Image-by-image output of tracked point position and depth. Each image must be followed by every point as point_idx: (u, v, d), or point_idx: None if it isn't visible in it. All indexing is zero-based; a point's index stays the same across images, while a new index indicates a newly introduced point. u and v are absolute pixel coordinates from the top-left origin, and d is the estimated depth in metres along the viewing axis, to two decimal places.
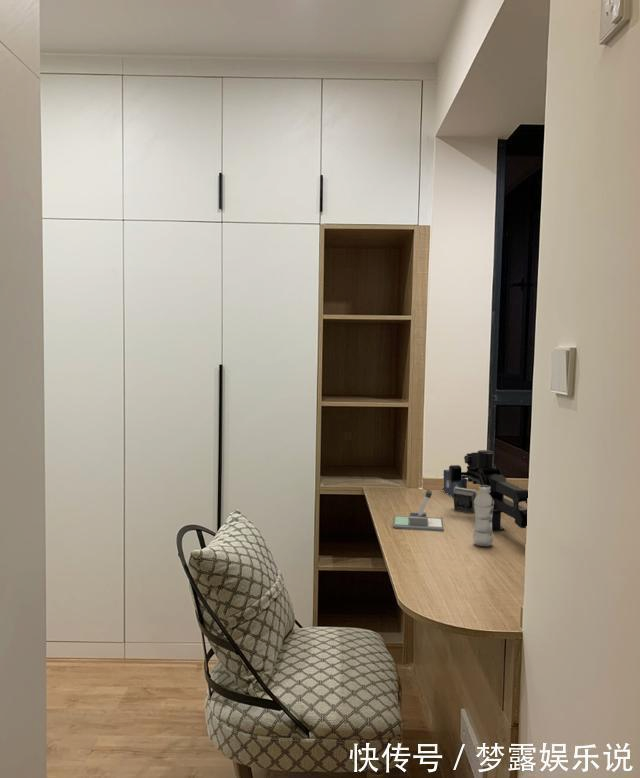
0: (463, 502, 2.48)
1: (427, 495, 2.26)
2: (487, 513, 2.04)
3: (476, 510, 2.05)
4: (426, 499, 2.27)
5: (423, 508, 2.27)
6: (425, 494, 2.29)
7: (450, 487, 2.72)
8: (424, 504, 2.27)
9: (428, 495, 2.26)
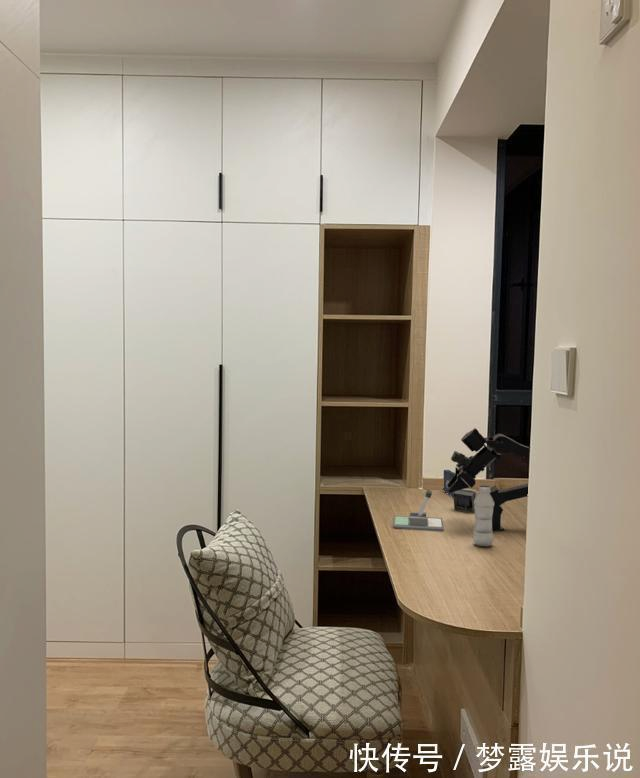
0: (463, 502, 2.48)
1: (427, 495, 2.26)
2: (487, 513, 2.04)
3: (476, 510, 2.05)
4: (426, 499, 2.27)
5: (423, 508, 2.27)
6: (425, 494, 2.29)
7: None
8: (424, 504, 2.27)
9: (428, 495, 2.26)
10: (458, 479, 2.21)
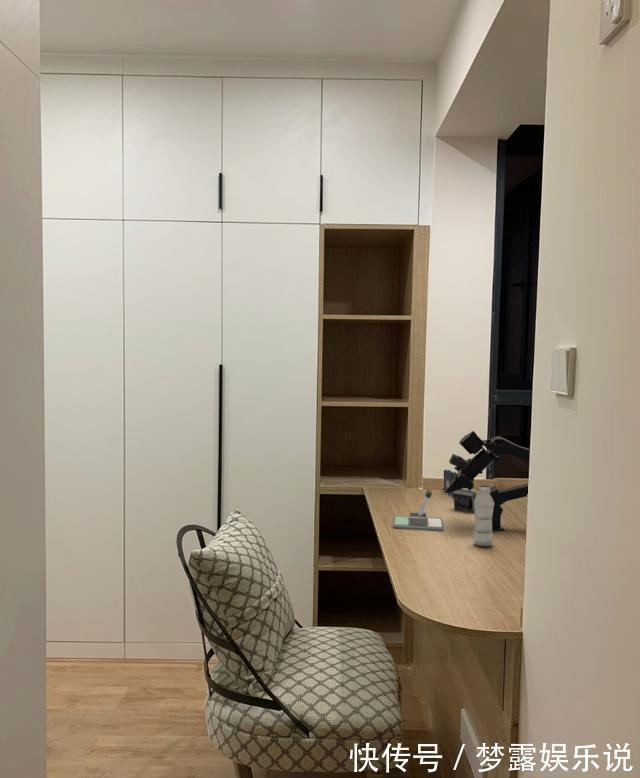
0: (463, 502, 2.48)
1: (427, 495, 2.26)
2: (487, 513, 2.04)
3: (476, 510, 2.05)
4: (426, 499, 2.27)
5: (423, 508, 2.27)
6: (425, 494, 2.29)
7: None
8: (424, 504, 2.27)
9: (428, 495, 2.26)
10: (456, 479, 2.24)
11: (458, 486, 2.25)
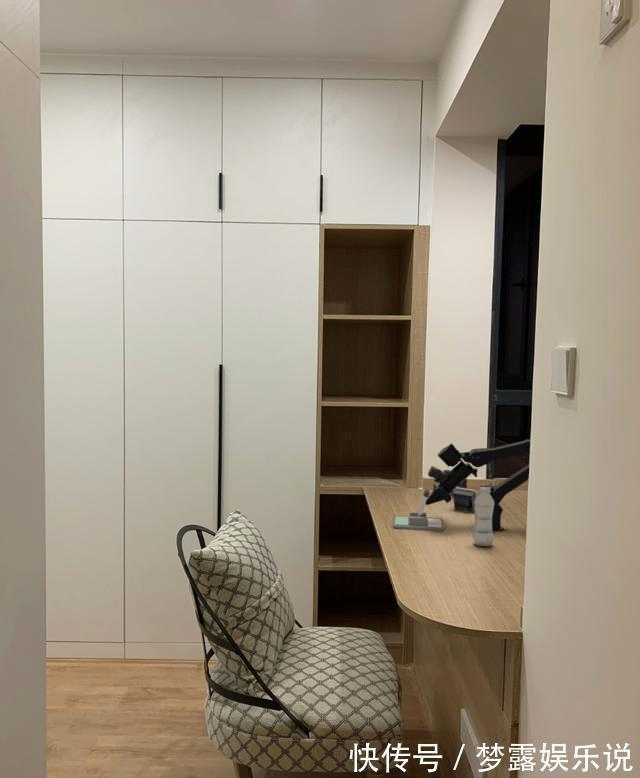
0: (463, 502, 2.48)
1: (425, 494, 2.27)
2: (487, 513, 2.04)
3: (476, 510, 2.05)
4: (424, 498, 2.27)
5: (422, 508, 2.27)
6: (423, 493, 2.29)
7: None
8: (423, 504, 2.27)
9: (426, 494, 2.26)
10: (434, 492, 2.26)
11: (437, 498, 2.27)
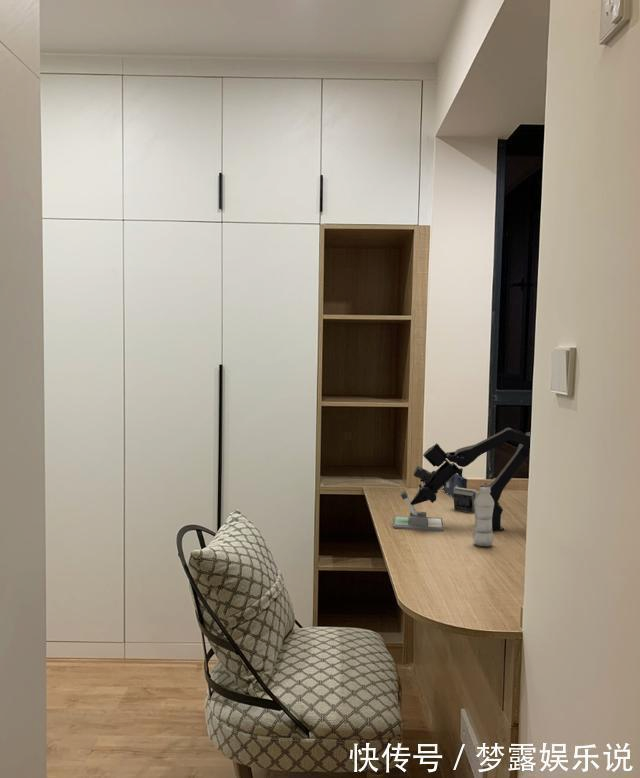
0: (463, 502, 2.48)
1: (403, 497, 2.28)
2: (487, 513, 2.04)
3: (476, 510, 2.05)
4: (406, 500, 2.28)
5: (411, 508, 2.28)
6: None
7: (450, 487, 2.72)
8: (409, 505, 2.28)
9: (404, 496, 2.28)
10: (420, 492, 2.27)
11: (422, 498, 2.27)
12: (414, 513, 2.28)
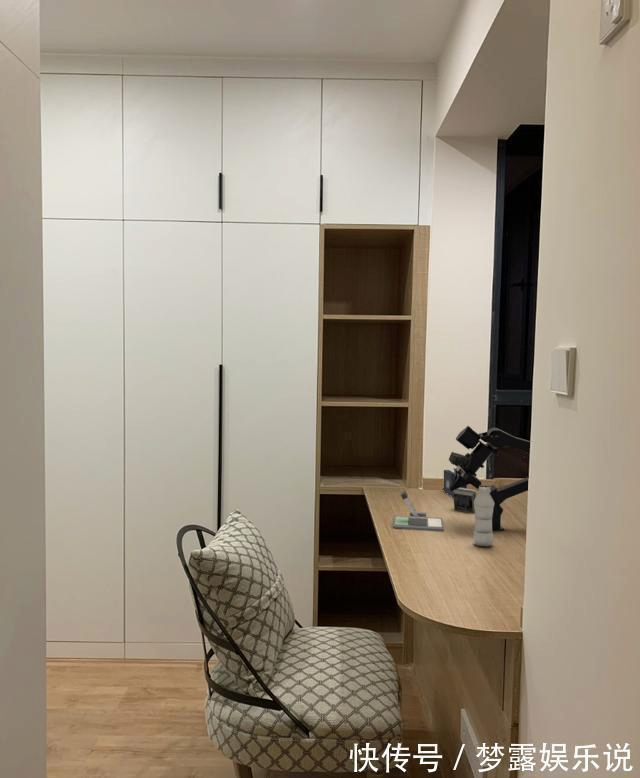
0: (463, 502, 2.48)
1: (403, 497, 2.28)
2: (487, 513, 2.04)
3: (476, 510, 2.05)
4: (406, 500, 2.28)
5: (411, 508, 2.28)
6: None
7: None
8: (409, 505, 2.28)
9: (404, 496, 2.28)
10: (459, 478, 2.24)
11: (462, 483, 2.25)
12: (414, 513, 2.28)
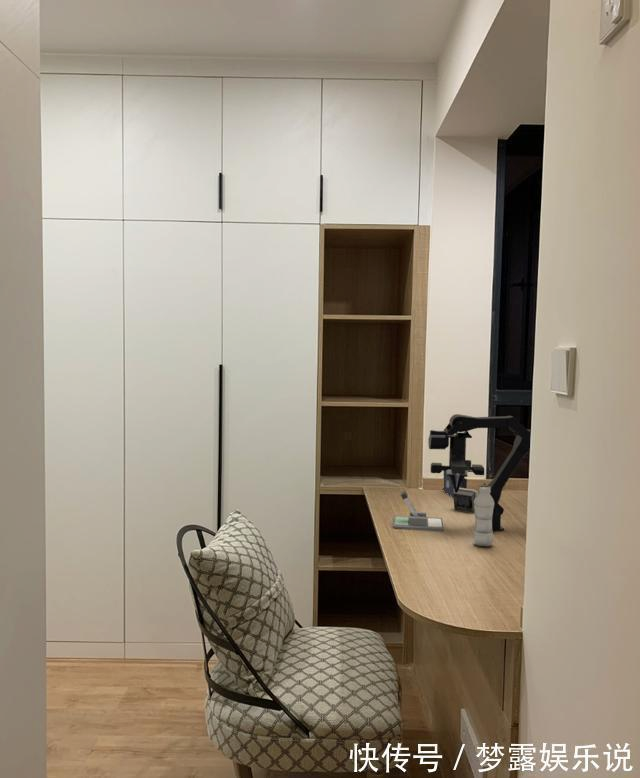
0: (463, 502, 2.48)
1: (403, 497, 2.28)
2: (487, 513, 2.04)
3: (476, 510, 2.05)
4: (406, 500, 2.28)
5: (411, 508, 2.28)
6: None
7: (450, 487, 2.72)
8: (409, 505, 2.28)
9: (404, 496, 2.28)
10: None
11: None
12: (414, 513, 2.28)
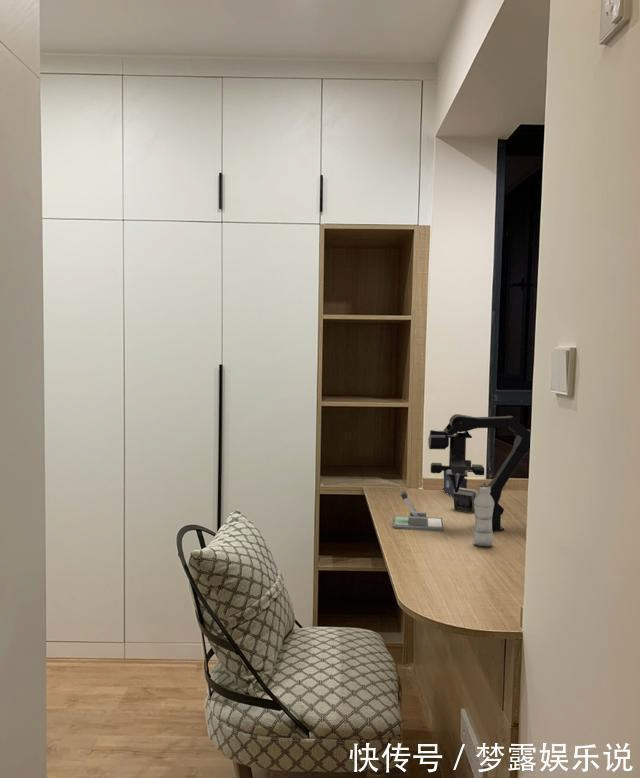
0: (463, 502, 2.48)
1: (403, 497, 2.28)
2: (487, 513, 2.04)
3: (476, 510, 2.05)
4: (406, 500, 2.28)
5: (411, 508, 2.28)
6: None
7: (450, 487, 2.72)
8: (409, 505, 2.28)
9: (404, 496, 2.28)
10: None
11: None
12: (414, 513, 2.28)
